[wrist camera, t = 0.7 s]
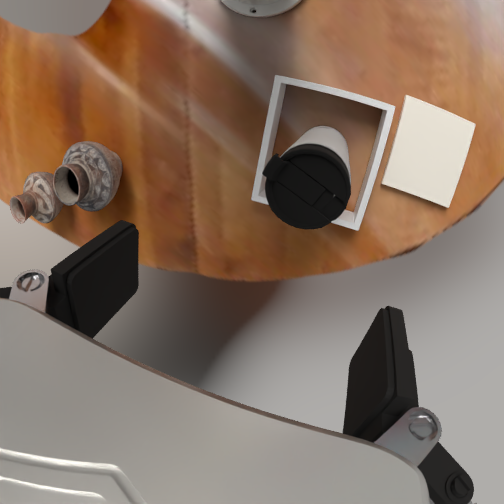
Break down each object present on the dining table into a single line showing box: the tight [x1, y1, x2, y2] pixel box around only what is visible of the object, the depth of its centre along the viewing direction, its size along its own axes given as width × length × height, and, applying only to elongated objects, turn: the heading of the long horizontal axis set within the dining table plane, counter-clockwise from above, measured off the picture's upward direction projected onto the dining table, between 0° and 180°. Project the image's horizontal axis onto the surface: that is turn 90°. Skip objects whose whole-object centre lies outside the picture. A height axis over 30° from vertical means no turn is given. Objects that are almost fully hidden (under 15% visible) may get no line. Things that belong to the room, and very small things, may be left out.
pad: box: [381, 95, 476, 208], centre depth 34 cm, size 12×10×1 cm
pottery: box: [10, 141, 122, 223], centre depth 46 cm, size 11×25×12 cm, turn 106°
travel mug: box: [262, 126, 351, 229], centre depth 30 cm, size 6×7×20 cm
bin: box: [251, 75, 395, 231], centre depth 37 cm, size 16×14×4 cm
